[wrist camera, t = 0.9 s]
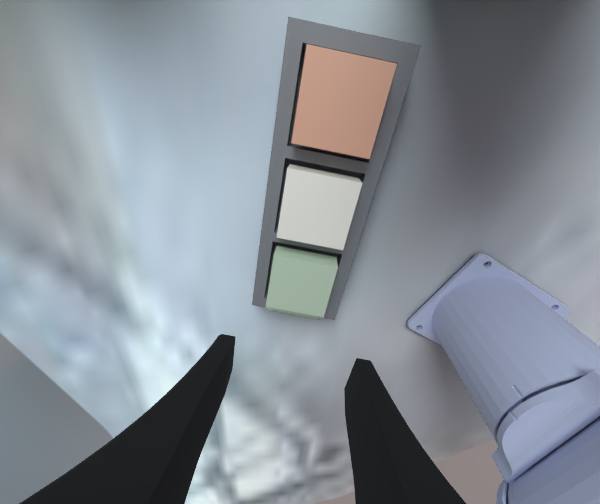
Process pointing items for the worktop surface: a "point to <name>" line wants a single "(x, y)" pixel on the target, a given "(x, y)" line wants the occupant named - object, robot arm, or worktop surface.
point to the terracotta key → (341, 101)
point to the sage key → (301, 281)
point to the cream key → (317, 206)
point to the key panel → (323, 159)
